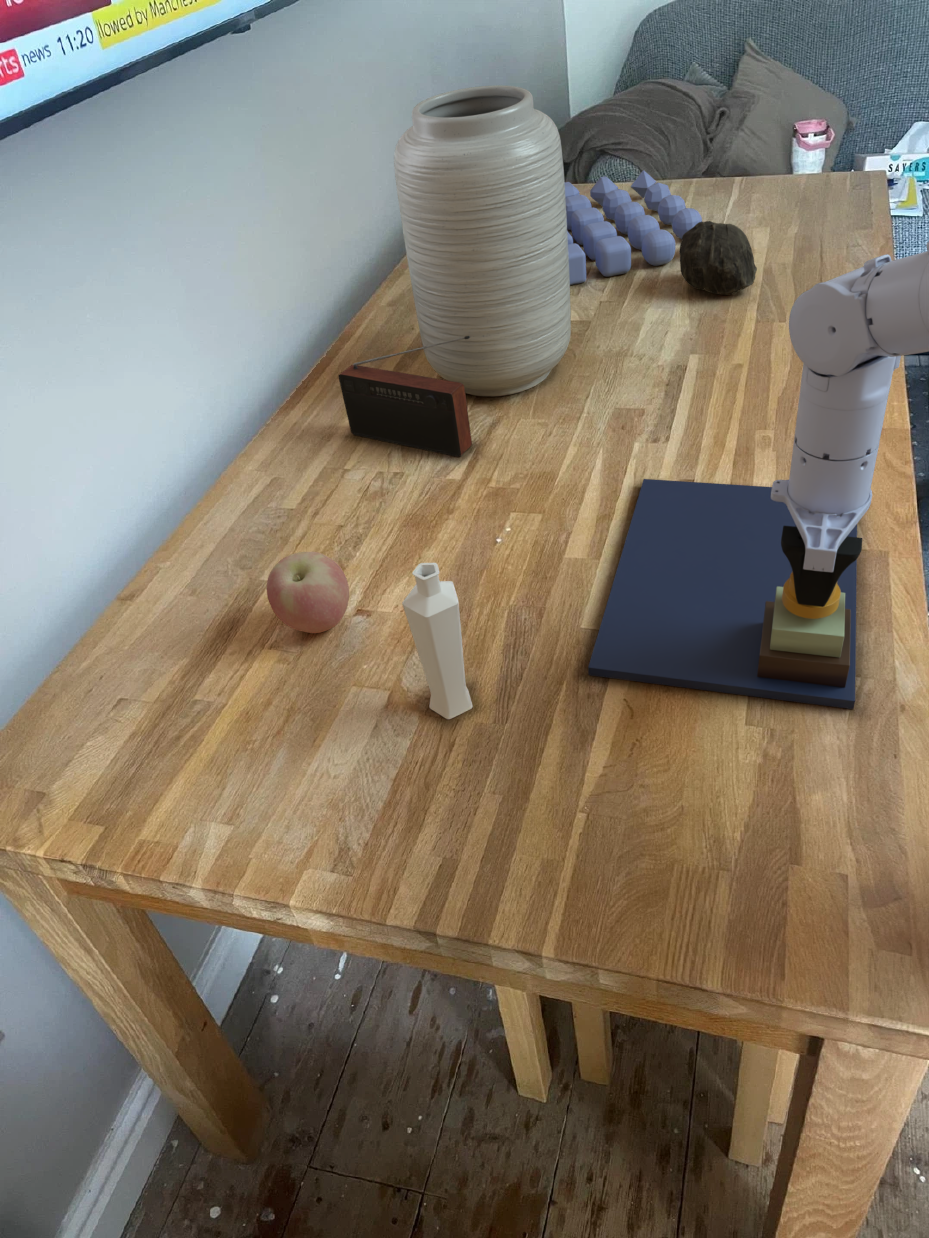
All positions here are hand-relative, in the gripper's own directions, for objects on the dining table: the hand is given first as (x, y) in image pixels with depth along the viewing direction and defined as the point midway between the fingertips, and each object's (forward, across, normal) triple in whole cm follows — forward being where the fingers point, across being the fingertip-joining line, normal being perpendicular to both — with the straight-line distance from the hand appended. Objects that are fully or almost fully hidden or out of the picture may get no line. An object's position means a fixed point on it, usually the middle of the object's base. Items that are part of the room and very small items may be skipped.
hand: (813, 585), depth 76 cm
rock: (+9, -78, -18) cm, 80 cm away
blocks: (+9, -96, -42) cm, 105 cm away
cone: (+2, 0, 0) cm, 2 cm away
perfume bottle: (+9, +11, -28) cm, 32 cm away
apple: (+9, +4, -45) cm, 46 cm away
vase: (+9, -49, -43) cm, 66 cm away
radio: (+9, -30, -48) cm, 57 cm away
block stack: (+8, 0, 0) cm, 8 cm away
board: (+9, -10, -7) cm, 15 cm away
